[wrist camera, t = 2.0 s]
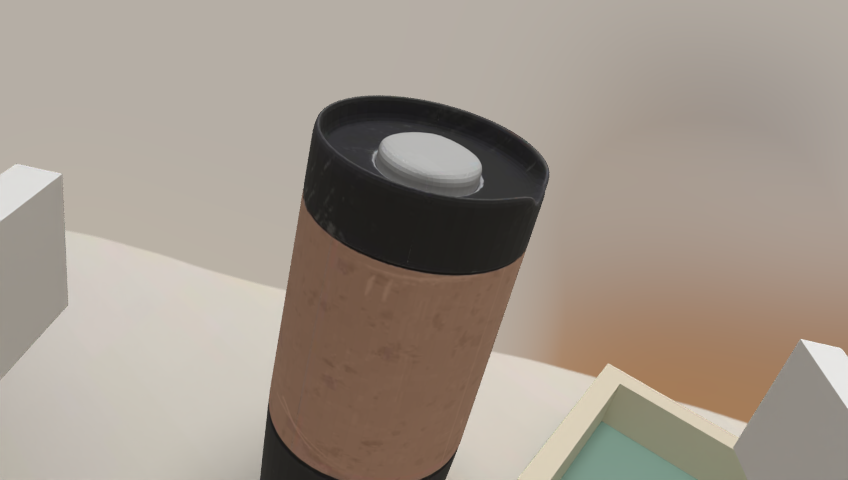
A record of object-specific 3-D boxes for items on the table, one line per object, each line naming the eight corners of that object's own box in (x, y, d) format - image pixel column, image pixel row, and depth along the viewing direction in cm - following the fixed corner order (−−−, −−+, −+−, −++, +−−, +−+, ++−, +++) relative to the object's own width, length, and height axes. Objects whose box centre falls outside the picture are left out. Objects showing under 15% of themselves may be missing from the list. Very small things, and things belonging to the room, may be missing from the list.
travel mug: (230, 492, 32) (281, 86, 22) (379, 461, 36) (481, 99, 26) (271, 653, 27) (363, 205, 17) (443, 597, 30) (604, 201, 20)
